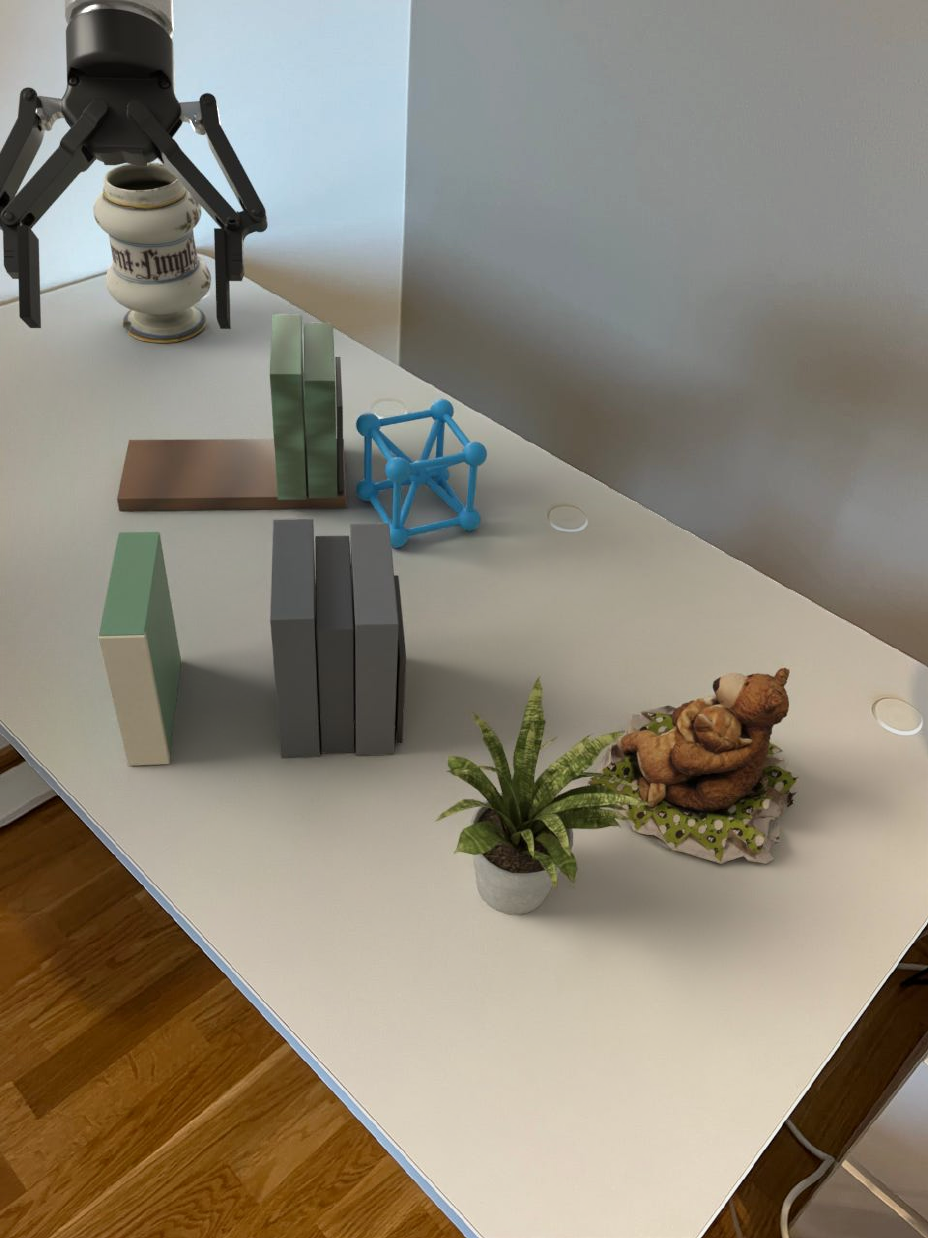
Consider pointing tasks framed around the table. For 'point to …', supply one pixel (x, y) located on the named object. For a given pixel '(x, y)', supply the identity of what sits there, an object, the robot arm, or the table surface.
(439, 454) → the molecular structure
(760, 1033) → the table surface
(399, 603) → the grey books
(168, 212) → the apothecary jar
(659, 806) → the bear figurine
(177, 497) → the book shelf
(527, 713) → the house plant
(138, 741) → the green book
